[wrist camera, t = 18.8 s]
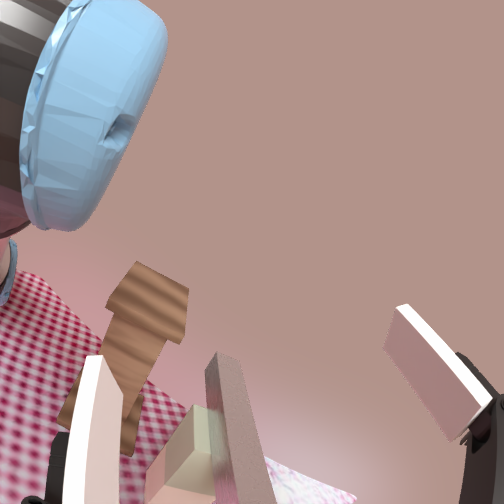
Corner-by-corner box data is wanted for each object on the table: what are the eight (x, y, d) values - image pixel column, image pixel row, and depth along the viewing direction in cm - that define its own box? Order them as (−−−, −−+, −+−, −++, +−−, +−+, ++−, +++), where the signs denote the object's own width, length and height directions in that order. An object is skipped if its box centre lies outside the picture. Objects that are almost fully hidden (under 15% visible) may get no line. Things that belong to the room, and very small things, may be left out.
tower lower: (191, 518, 31) (219, 497, 30) (143, 507, 29) (164, 484, 28) (189, 483, 39) (214, 457, 37) (146, 471, 37) (166, 443, 35)
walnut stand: (131, 457, 38) (199, 342, 34) (56, 422, 34) (94, 289, 31) (141, 400, 53) (199, 293, 50) (81, 371, 49) (126, 255, 46)
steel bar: (258, 537, 17) (282, 523, 17) (220, 535, 16) (242, 521, 16) (227, 378, 44) (239, 360, 44) (204, 370, 43) (216, 351, 43)
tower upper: (219, 497, 30) (256, 463, 28) (164, 484, 28) (194, 449, 26) (214, 457, 37) (246, 420, 36) (166, 443, 35) (193, 403, 34)
